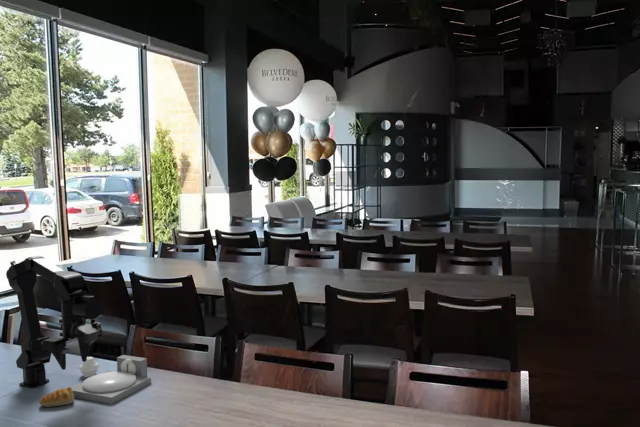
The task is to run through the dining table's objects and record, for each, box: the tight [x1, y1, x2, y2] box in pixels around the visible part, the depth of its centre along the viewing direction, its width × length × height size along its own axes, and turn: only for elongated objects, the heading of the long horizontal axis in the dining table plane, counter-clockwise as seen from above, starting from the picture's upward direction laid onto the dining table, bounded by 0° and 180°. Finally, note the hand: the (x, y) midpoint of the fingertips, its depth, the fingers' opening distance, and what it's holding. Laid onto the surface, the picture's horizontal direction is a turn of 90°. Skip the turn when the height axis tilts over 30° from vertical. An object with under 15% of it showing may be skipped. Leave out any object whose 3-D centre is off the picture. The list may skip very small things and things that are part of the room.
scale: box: [71, 354, 152, 405], centre depth 183 cm, size 18×21×7 cm
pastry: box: [39, 386, 75, 408], centre depth 170 cm, size 9×7×4 cm
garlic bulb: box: [79, 356, 100, 378], centre depth 193 cm, size 6×6×7 cm
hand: (74, 365), depth 174 cm, fingers open, 8 cm apart
